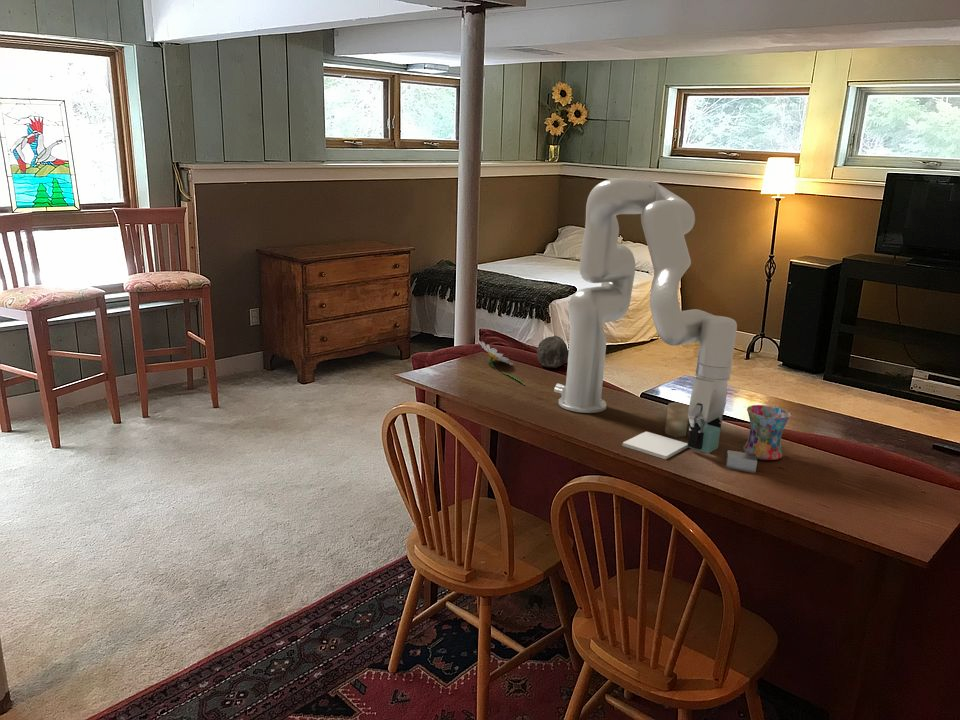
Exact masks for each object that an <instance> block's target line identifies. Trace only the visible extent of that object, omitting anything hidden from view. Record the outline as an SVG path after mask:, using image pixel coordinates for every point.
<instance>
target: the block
mask: <svg viewBox="0 0 960 720" xmlns="http://www.w3.org/2000/svg"><path fill="white" fill-rule="evenodd" d="M697 423H698V424H699V427H700V425H701V423H700V422H697ZM702 433H704V436H703V444H702V449H700V450H698V449H695V448H692V447H689V446H688V447H687V448H690V449H693V450H696V451H699V452H703V453H706V454H710V453H712V452H714V451H715V450H717V449H718V448H719V441H720V437H719V436H721V430H720V428H719V427H715V426H712V425H708V424H707V423H706V424H705V427H704V429H703V431H702Z"/></svg>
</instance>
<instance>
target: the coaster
mask: <svg viewBox="0 0 960 720" xmlns="http://www.w3.org/2000/svg"><path fill="white" fill-rule="evenodd" d="M621 446H622V447H624V448H628V449H630V450H631V449H632V450H634V451H637V452H640V453H644V454H647V455H650V456H654V457H657V458H660V459H663V460H667V459H669V458H671V457H673V456H675V455H677V454H678V453H680V452H682V451H684V450H686V449H688V448H689V447H688V442H683V441H681V440H677V439H673V438H671V437H670V438H669V437H666V436H663V435H660V434H656V433H653V432H650V431H644V432H641V433H639V434H637V435H635V436H633V437H631V438H629V439H627V440H624V441H623V442H622V444H621Z"/></svg>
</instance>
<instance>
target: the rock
mask: <svg viewBox="0 0 960 720" xmlns="http://www.w3.org/2000/svg"><path fill="white" fill-rule="evenodd" d="M536 354H537V359H538V361H539V363H540V364H541V366H543V367H544V368H548V369H549V368H550V369H557V368H559V367H562V366H563V364H565V363H566V362H568V354H569V348H568V346H567V343H566V342H565V340H564V339H563V338H562V337H560V336H557V335H553V336H547V337H545V338H544V339H542V340H540V342H539V344H538V347H537V349H536Z"/></svg>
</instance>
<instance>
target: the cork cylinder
mask: <svg viewBox="0 0 960 720" xmlns="http://www.w3.org/2000/svg"><path fill="white" fill-rule="evenodd" d="M688 411H689V405H688V404H685V403H683V402H682V403H681V402H669V403H668V405H667V411H666V412H667V413H666V419H665V429H664V433H665V434H666V433H667V434H666V435H668V434H669V435H668V436H670V435H671V437H674V436H676V438H681V437H682V436H683V437H685V436H687V429H688V424H689V422H688V421H689V418H688ZM683 437H682V438H683Z"/></svg>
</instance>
